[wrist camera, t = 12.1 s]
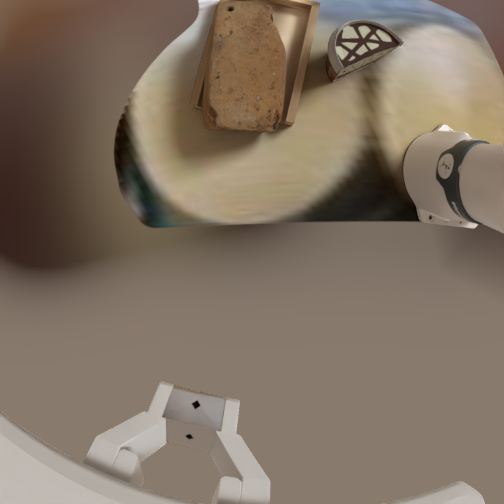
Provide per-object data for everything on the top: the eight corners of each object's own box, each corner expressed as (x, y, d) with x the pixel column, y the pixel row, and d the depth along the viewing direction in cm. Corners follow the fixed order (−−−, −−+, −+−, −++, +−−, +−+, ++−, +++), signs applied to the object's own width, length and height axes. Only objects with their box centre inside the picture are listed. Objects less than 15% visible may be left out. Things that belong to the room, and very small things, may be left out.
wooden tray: (317, 12, 32) (320, 3, 29) (291, 125, 39) (294, 123, 36) (227, -3, 32) (224, -12, 28) (195, 108, 39) (189, 104, 36)
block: (202, 129, 32) (215, -5, 24) (200, 130, 38) (210, 15, 30) (286, 134, 34) (294, 6, 26) (270, 134, 41) (278, 22, 33)
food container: (360, 32, 33) (380, 8, 23) (381, 60, 34) (406, 41, 25) (302, 57, 35) (311, 32, 26) (324, 86, 37) (340, 69, 27)
